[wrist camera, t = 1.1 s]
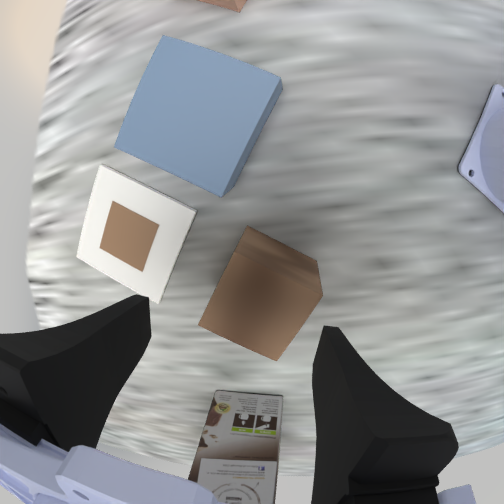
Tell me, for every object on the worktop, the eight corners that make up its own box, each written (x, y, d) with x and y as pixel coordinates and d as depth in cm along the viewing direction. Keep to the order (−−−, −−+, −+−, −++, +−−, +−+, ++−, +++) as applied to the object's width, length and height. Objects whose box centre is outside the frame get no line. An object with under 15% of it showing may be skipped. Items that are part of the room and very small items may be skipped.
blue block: (282, 89, 17) (280, 77, 14) (234, 186, 20) (221, 197, 16) (185, 51, 17) (162, 35, 13) (143, 144, 20) (113, 147, 16)
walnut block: (316, 260, 21) (322, 295, 16) (280, 318, 23) (276, 361, 18) (247, 225, 21) (234, 251, 16) (216, 287, 23) (197, 325, 18)
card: (197, 210, 21) (195, 212, 20) (160, 301, 23) (158, 304, 23) (102, 164, 20) (99, 164, 20) (79, 255, 23) (75, 257, 23)
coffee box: (212, 388, 26) (160, 550, 11) (284, 394, 25) (268, 568, 10) (219, 443, 29) (186, 571, 14) (279, 448, 29) (264, 582, 14)
